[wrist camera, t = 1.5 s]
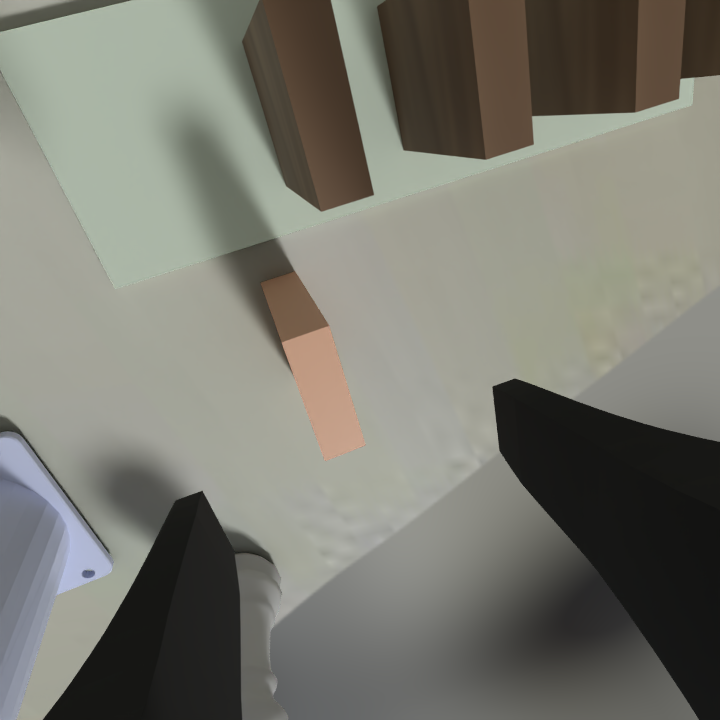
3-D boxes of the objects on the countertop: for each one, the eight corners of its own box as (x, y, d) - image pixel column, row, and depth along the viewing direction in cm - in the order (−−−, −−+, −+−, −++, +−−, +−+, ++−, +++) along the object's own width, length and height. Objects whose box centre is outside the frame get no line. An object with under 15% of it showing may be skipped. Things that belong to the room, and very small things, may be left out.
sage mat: (116, 286, 17) (115, 289, 17) (-14, 37, 14) (-18, 35, 13) (686, 105, 20) (692, 105, 20) (704, -136, 17) (712, -140, 17)
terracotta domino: (295, 377, 21) (324, 461, 16) (260, 282, 19) (281, 342, 13) (325, 366, 21) (365, 445, 16) (294, 271, 19) (329, 325, 14)
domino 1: (286, 186, 17) (321, 211, 12) (241, 41, 15) (261, -4, 10) (323, 174, 17) (374, 194, 12) (285, 30, 15) (326, -21, 10)
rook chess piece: (197, 622, 25) (193, 811, 18) (180, 559, 23) (169, 745, 16) (283, 599, 26) (312, 770, 19) (274, 538, 24) (303, 704, 17)
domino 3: (513, 117, 18) (635, 112, 13) (501, -26, 16) (641, -99, 11) (546, 106, 19) (679, 98, 13) (538, -36, 16) (693, -112, 11)
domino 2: (403, 150, 18) (485, 160, 13) (377, 6, 16) (462, -55, 10) (438, 139, 18) (533, 144, 13) (416, -4, 16) (520, -69, 11)
